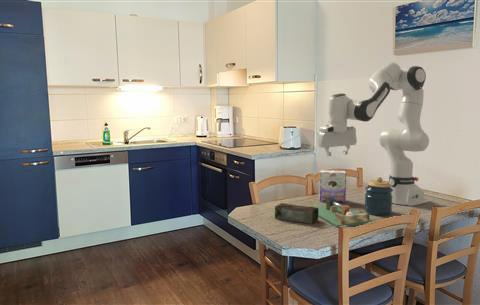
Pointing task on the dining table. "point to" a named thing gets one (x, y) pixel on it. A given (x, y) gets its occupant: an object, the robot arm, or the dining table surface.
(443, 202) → the dining table surface
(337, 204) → the rod
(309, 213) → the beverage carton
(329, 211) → the pitch
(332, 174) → the candy box
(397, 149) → the robot arm
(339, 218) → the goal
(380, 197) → the canister
